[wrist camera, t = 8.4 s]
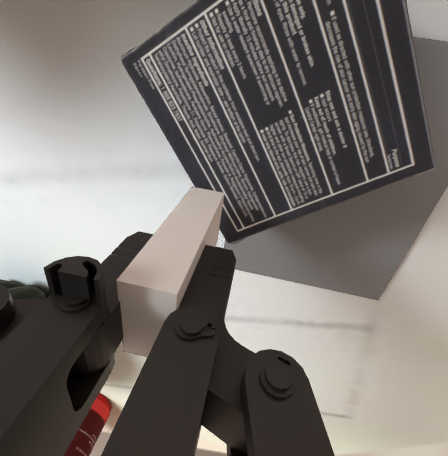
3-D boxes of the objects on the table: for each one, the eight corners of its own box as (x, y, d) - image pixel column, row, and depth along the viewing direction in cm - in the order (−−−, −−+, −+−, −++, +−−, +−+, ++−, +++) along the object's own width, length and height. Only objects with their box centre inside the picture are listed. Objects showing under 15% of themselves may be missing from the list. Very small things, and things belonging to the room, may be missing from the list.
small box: (240, 203, 20) (386, 143, 17) (227, 249, 15) (442, 176, 11) (168, 63, 16) (338, -57, 13) (114, 55, 11) (388, -164, 7)
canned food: (60, 394, 43) (-1, 482, 33) (81, 379, 39) (19, 474, 30) (98, 417, 45) (50, 507, 35) (121, 405, 41) (75, 502, 32)
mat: (221, 262, 24) (221, 266, 24) (262, 18, 15) (262, 16, 15) (376, 296, 23) (378, 300, 22) (520, 53, 14) (527, 52, 13)
